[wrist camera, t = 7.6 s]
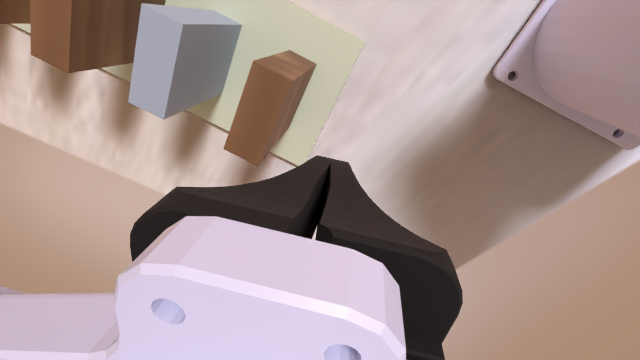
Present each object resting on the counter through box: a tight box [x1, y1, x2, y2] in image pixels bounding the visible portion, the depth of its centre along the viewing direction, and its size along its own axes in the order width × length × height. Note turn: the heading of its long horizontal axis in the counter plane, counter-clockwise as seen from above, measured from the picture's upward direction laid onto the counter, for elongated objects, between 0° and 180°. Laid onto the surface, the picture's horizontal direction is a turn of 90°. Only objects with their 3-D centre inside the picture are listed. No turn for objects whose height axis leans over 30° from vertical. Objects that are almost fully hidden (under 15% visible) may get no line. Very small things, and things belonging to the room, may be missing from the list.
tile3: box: [30, 0, 166, 73], centre depth 16 cm, size 2×4×6 cm, turn 155°
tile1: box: [224, 50, 317, 166], centre depth 17 cm, size 2×4×6 cm, turn 155°
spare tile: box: [128, 3, 242, 119], centre depth 16 cm, size 2×4×6 cm, turn 156°
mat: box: [12, 0, 365, 166], centre depth 19 cm, size 25×9×1 cm, turn 65°
